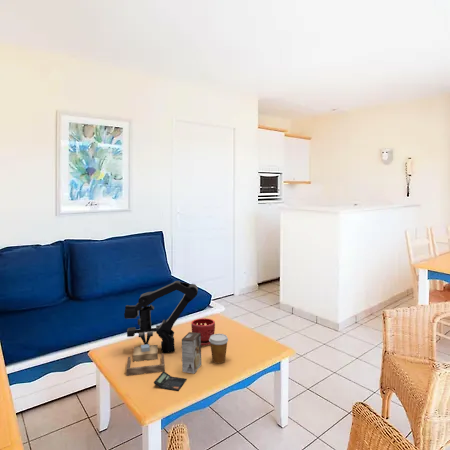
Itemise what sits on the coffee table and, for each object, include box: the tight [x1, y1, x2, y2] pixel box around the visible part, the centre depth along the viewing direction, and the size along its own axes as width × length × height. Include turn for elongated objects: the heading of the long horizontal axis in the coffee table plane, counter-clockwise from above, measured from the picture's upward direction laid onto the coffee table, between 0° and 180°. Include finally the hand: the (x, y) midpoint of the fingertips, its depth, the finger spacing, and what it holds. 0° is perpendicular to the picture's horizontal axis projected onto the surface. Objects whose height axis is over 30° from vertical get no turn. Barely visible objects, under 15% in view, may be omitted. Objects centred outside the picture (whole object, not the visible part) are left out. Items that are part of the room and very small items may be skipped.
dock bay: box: [125, 352, 166, 377], centre depth 170 cm, size 17×13×3 cm
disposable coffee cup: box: [209, 333, 229, 364], centre depth 176 cm, size 10×10×12 cm
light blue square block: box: [140, 343, 150, 352], centre depth 181 cm, size 4×4×2 cm
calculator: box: [153, 370, 188, 392], centre depth 155 cm, size 9×12×3 cm
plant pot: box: [190, 317, 216, 347], centre depth 197 cm, size 13×13×12 cm
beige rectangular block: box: [132, 344, 159, 363], centre depth 181 cm, size 12×10×4 cm
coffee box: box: [181, 331, 202, 374], centre depth 168 cm, size 9×6×16 cm
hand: (146, 346), depth 187 cm, fingers closed
